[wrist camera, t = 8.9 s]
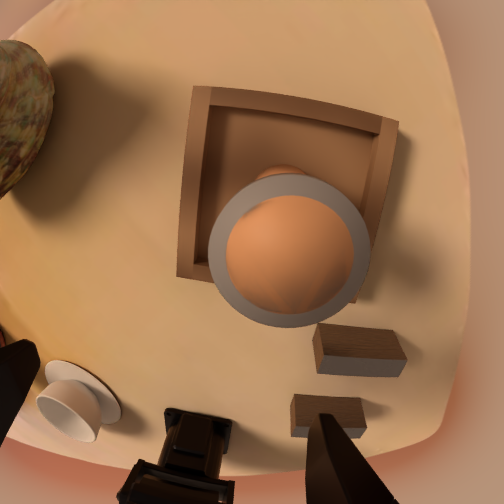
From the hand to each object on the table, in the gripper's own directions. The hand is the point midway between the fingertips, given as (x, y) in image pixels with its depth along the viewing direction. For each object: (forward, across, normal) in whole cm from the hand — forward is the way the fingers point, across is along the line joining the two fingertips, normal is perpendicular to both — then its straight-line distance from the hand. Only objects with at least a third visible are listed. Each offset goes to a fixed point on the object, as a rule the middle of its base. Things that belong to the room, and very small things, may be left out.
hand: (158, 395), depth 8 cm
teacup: (+13, +14, +20) cm, 27 cm away
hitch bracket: (+12, -10, +9) cm, 18 cm away
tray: (+12, -3, -4) cm, 13 cm away
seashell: (+12, +17, -8) cm, 22 cm away
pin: (+11, -3, -4) cm, 12 cm away
